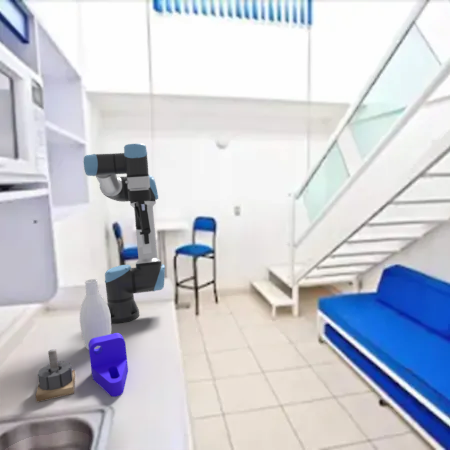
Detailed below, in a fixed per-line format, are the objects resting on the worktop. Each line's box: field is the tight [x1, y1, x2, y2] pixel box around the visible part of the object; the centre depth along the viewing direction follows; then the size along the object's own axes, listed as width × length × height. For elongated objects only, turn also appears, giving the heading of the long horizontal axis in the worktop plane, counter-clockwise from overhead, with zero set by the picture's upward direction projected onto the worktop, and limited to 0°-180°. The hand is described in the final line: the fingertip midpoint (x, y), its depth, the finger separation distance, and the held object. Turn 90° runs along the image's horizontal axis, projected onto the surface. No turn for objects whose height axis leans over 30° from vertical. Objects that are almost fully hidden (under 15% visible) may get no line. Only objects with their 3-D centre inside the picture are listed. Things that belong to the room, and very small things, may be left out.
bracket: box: [88, 332, 129, 398], centre depth 115 cm, size 18×11×12 cm, turn 25°
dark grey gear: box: [37, 361, 73, 390], centre depth 114 cm, size 9×9×4 cm
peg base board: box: [35, 348, 76, 403], centre depth 113 cm, size 11×10×12 cm
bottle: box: [79, 278, 112, 351], centre depth 141 cm, size 11×11×25 cm
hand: (144, 250), depth 132 cm, fingers open, 13 cm apart
